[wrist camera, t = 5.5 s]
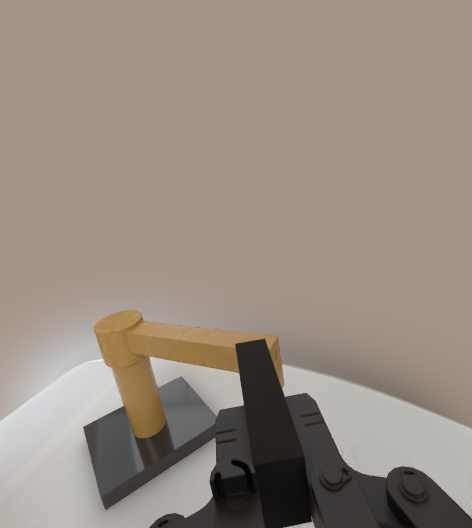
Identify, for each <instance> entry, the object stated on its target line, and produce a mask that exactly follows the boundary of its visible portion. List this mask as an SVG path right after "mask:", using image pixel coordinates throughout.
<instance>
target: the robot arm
mask: <svg viewBox="0 0 472 528" xmlns="http://www.w3.org/2000/svg"><path fill="white" fill-rule="evenodd" d="M235 348H236V354H237V361H238V367H239V374H240V381H241V387H242V394H243V400H244V406H239V407H234V408H228V409H223V410H220V411H219V414H218V416H217V418H216V421H215V429H216V466H215V467H214V469H213V471H212V472H211V476H210V485H211V489H212V494H213V497H212V498H211V500H210V501H209V502H208V504H207V505H206V506H205V507H203V508H202V509H201V510H199V511H198V512H196V513H194V514H192V515H191V516H189V517H187V518H184V516H182V515H179V514H176V513H173V514H167V515H164V516H163V517H161V518H159V519H157V520H156V521H155V522H154V523H153V524H152V525H151V526H150V528H284V527H289V526H294V525H298V524H303V523H308V522H312V519H313V523H314V526H315V528H472V518H471V517H470V516H469V515H468V514H467V513H466V512H465V511H464V510H463V509H462V508H461V507H460V506H459V505H458V504H457V503H456V502H455V501H454V500H453V499H451V498H450V497H449V496H448V495H447V494H446V493H445V492H444V491H443V490H442V489H441V488H440V487H439V486H438V485H437V484H436V483H435V482H434V481H433V480H432V479H431V478H430V477H428V476H427V475H426V474H424V473H423V472H421V471H419V470H417V469H414V468H411V467H403V466H402V467H398V468H394V469H393V470H392V471H391V472H389V473H388V476H387V478H384V477H377V476H369V475H365V474H362V473H359V472H357V471H355V470H354V469H352V468H351V467H349V466H348V465H347V464H346V463H345V462H344V460H343V459H342V457H341V455H340V453H339V451H338V449H337V447H336V444H335V442H334V440H333V438H332V436H331V434H330V431H329V429H328V427H327V425H326V423H325V421H324V418H323V416H322V414H321V412H320V410H319V408H318V405H317V403H316V401H315V400H314V399H313V398H311V397H310V396H309V395H308V394H307V393H303V394H298V395H293V396H287V397H285V396H284V393H283V390H282V387H281V384H280V381H279V378H278V375H277V373H276V370H275V367H274V364H273V361H272V358H271V355H270V352H269V349H268V346H267V343H266V340H265V338H264V339H258V340H253V341H247V342H242V343H236V344H235ZM311 516H312V519H311Z"/></svg>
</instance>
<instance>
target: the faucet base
mask: <svg viewBox="0 0 472 528" xmlns="http://www.w3.org/2000/svg"><path fill="white" fill-rule="evenodd" d="M111 368H112V367H111ZM112 371H113V374H114V377H115V380H116V383H117V386H118V389H119V393H120V396H121V399H122V402H123V405H124V406H123V407H121V408H119V409H117V410H115V411H113V412H111V413H109V414H107V415H105V416H104V417H102V418H100V419H98V420H96V421H94V422H92V423H90V424H88V425H86V426H84V427H83V429H84V433H85V437H86V441H87V445H88V449H89V453H90V457H91V461H92V465H93V469H94V473H95V477H96V481H97V485H98V489H99V493H100V497H101V500H102V502H103V505H104V507H105V509H108V508H109V507H111V506H112V505H114V504H115V503H117V502H118V501H120V500H121V499H123V498H124V497H126V496H127V495H129V494H130V493H132V492H133V491H135V490H136V489H138V488H139V487H141V486H142V485H144V484H145V483H147V482H148V481H150V480H151V479H153V478H154V477H156V476H157V475H159V474H160V473H162V472H163V471H165V470H166V469H168V468H169V467H171V466H172V465H174V464H175V463H177V462H178V461H180V460H181V459H183V458H184V457H186V456H187V455H189V454H190V453H192V452H193V451H195V450H196V449H198V448H199V447H201V446H202V445H204V444H205V443H207V442H208V441H210V440H211V439H213V438H214V437H216V429H215V421H216V418H217V417H216V415H215V414H214V413H213V412H212V411H211V410H210V409H209V407H208V406H207V405H206V404H205V403H204V402H203V401H202V399H201V398H200V397H199V396H198V395H197V394H196V393H195V391H194V390H193V389H192V388H191V387H190V386H189V385H188V383H187V382H186V381H185V380H184V379H183V378H182V377H179V378H177V379H175V380H173V381H171V382H169V383H167V384H165V385H163V386H161V387H159V388H158V387H157V383H156V380H155V376H154V373H153V369H152V366H151V362H150V359H149V356H145V357H144V358H143V359H141V360H140V361H138V362H136V363H134V364H132V365H129V366H125V367H120V368H112Z"/></svg>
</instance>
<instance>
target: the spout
mask: <svg viewBox="0 0 472 528" xmlns="http://www.w3.org/2000/svg"><path fill="white" fill-rule="evenodd" d="M94 332H95V335H96V338H97V341H98V344H99V347H100V350H101V353H102V356H103V359H104V362H105V364H106V365H107V366H109V367H112V368H120V367H125V366H129V365H132V364H134V363H136V362H138V361H140V360H141V359H143V358H144V357H145V356H150V357H156V358H161V359H167V360H172V361H177V362H183V363H188V364H194V365H199V366H205V367H210V368H216V369H221V370H227V371H232V372H238V373H239V367H238V361H237V354H236V348H235V344H236V343H242V342H247V341H253V340H258V339H264V338H265V340H266V343H267V346H268V349H269V352H270V355H271V358H272V361H273V364H274V367H275V370H276V373H277V375H278V378H279V381H280V384H281V387H282V388H283V386H284V379H283V371H282V363H281V356H280V349H279V342H278V337H277V336H269V335H261V334H252V333H243V332H234V331H225V330H217V329H208V328H200V327H191V326H183V325H174V324H165V323H156V322H148V321H143V318H142V314H141V313H140V312H139V311H136V310H127V311H121V312H117V313H114V314H111V315H109V316H107V317H105V318H103V319H102V320H100V321H99V322H98V323H96V325H95V326H94Z"/></svg>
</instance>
